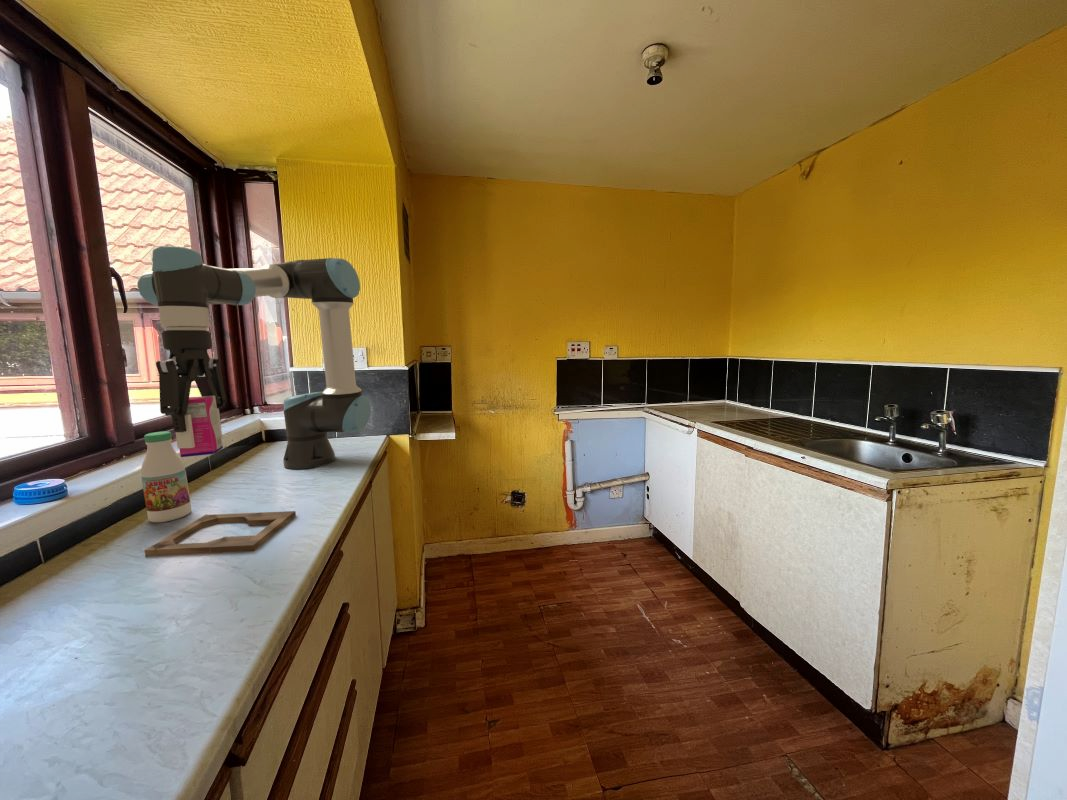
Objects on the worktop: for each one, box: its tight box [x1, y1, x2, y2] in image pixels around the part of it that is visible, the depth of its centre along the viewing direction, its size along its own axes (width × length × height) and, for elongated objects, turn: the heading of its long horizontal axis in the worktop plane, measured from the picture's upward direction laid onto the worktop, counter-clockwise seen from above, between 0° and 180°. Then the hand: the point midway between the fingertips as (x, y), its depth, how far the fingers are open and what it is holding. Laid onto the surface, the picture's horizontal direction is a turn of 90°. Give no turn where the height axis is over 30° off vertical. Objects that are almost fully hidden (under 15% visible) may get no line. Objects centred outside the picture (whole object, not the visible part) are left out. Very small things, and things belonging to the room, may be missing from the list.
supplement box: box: [178, 396, 224, 458], centre depth 85 cm, size 6×6×12 cm
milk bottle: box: [140, 431, 192, 523], centre depth 96 cm, size 8×8×20 cm
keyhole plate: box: [144, 510, 297, 557], centre depth 88 cm, size 16×20×1 cm
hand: (201, 442), depth 85 cm, fingers closed on supplement box, 7 cm apart
